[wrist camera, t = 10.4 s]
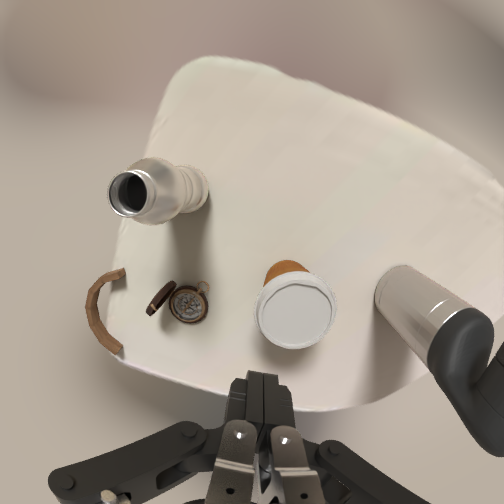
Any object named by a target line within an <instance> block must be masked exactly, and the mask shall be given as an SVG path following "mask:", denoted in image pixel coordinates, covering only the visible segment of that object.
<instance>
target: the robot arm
mask: <svg viewBox="0 0 504 504" xmlns="http://www.w3.org/2000/svg"><path fill="white" fill-rule="evenodd" d="M375 304H376V307H377V309H378V310H379V312H380V313H381V314H382V315H383V316H384V318H385V319H386V320H387V321H388V322H389V323H390V325H391V326H392V327H393V328H394V329H395V330H396V331H397V333H398V334H399V335H400V336H401V337H402V338H403V340H404V341H405V342H406V343H407V344H408V345H409V347H410V348H411V349H412V350H413V351H414V352H415V354H416V355H417V356H418V357H419V358H420V359H421V361H422V362H423V363H424V364H425V366H426V367H427V368H428V369H429V370H430V372H431V373H432V374H433V376H434V378H435V380H436V382H437V384H438V385H439V387H440V388H441V389H442V391H443V392H444V393H445V395H446V396H447V398H448V399H449V401H450V402H451V404H452V405H453V407H454V409H455V410H456V412H457V413H458V415H459V417H460V418H461V420H462V421H463V423H464V425H465V426H466V428H467V429H468V431H469V433H470V434H471V435H472V437H473V438H474V439H475V440H476V442H477V443H478V444H479V445H480V446H481V447H482V448H483V449H484V450H485V451H486V452H488V453H489V454H491V455H494V456H496V457H504V342H503V343H502V345H501V347H500V348H499V350H498V351H497V353H496V356H494V358H493V359H492V361H491V362H490V364H489V365H488V367H487V364H488V360H489V357H490V353H491V349H492V346H493V342H494V328H493V324H492V322H491V320H490V319H489V318H488V317H487V316H486V315H485V314H484V313H482V312H481V311H479V310H478V309H476V308H475V307H473V306H472V305H470V304H469V303H467V302H466V301H464V300H462V299H461V298H459V297H458V296H456V295H455V294H453V293H452V292H450V291H449V290H447V289H446V288H444V287H442V286H441V285H439V284H438V283H436V282H435V281H433V280H431V279H430V278H428V277H426V276H425V275H423V274H422V273H420V272H418V271H417V270H415V269H413V268H412V267H409V266H398V267H395V268H393V269H391V270H390V271H388V272H387V273H386V274H385V275H384V276H383V277H382V279H381V280H380V282H379V284H378V286H377V288H376V292H375ZM255 453H258V454H259V460H258V462H257V464H256V474H257V487H258V502H257V503H253V502H251V497H252V489H253V482H254V474H255V469H254V468H253V463H254V456H255ZM209 471H213V473H212V476H211V480H210V484H209V488H208V492H207V495H206V498H205V499H198V500H193V501H189V502H186V503H184V504H430V503H429V502H427V501H425V500H424V499H422V498H420V497H419V496H417V495H415V494H414V493H412V492H411V491H409V490H408V489H406V488H405V487H403V486H402V485H400V484H398V483H397V482H395V481H394V480H392V479H391V478H389V477H388V476H386V475H385V474H384V473H382V472H381V471H379V470H378V469H377V468H375V467H374V466H372V465H371V464H369V463H368V462H367V461H365V460H364V459H363V458H361V457H360V456H359V455H357V454H356V453H354V452H353V451H352V450H350V449H349V448H348V447H347V446H345V445H344V444H343V443H341V442H339V441H336V440H326V441H324V442H322V443H321V444H320V445H319V444H316V443H312V442H309V441H307V440H305V439H303V438H302V436H301V434H300V433H299V432H298V431H297V430H296V427H295V420H294V412H293V404H292V397H291V392H290V391H289V389H288V388H287V386H283V385H279V382H278V375H274V374H268V373H261V372H255V371H250V370H248V372H247V375H246V379H239V378H236V379H235V380H234V381H233V382H232V383H231V387H230V391H229V395H228V399H227V403H226V410H225V417H224V424H223V425H222V426H221V427H219V428H216V429H206V430H204V429H203V428H202V427H201V426H200V425H198V424H197V423H194V422H190V421H182V422H179V423H176V424H174V425H172V426H170V427H168V428H166V429H164V430H161V431H159V432H157V433H155V434H152V435H150V436H148V437H146V438H143V439H141V440H138V441H136V442H134V443H131V444H129V445H126V446H124V447H121V448H118V449H116V450H113V451H110V452H108V453H105V454H102V455H100V456H97V457H94V458H91V459H88V460H85V461H82V462H78V463H75V464H72V465H69V466H65V467H62V468H58V469H55V470H54V471H52V472H51V473H50V475H49V477H48V484H49V487H50V489H51V491H52V492H53V493H54V495H55V496H56V498H57V500H58V501H59V502H60V503H61V504H142V503H144V502H146V501H148V500H150V499H152V498H154V497H156V496H158V495H160V494H162V493H164V492H166V491H168V490H170V489H171V488H173V487H175V486H177V485H179V484H180V483H182V482H184V481H186V480H188V479H189V478H191V477H193V476H194V475H196V474H197V473H198V472H209ZM334 477H335V478H334ZM339 481H340V482H339ZM343 484H344V485H343ZM348 488H349V489H348Z"/></svg>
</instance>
